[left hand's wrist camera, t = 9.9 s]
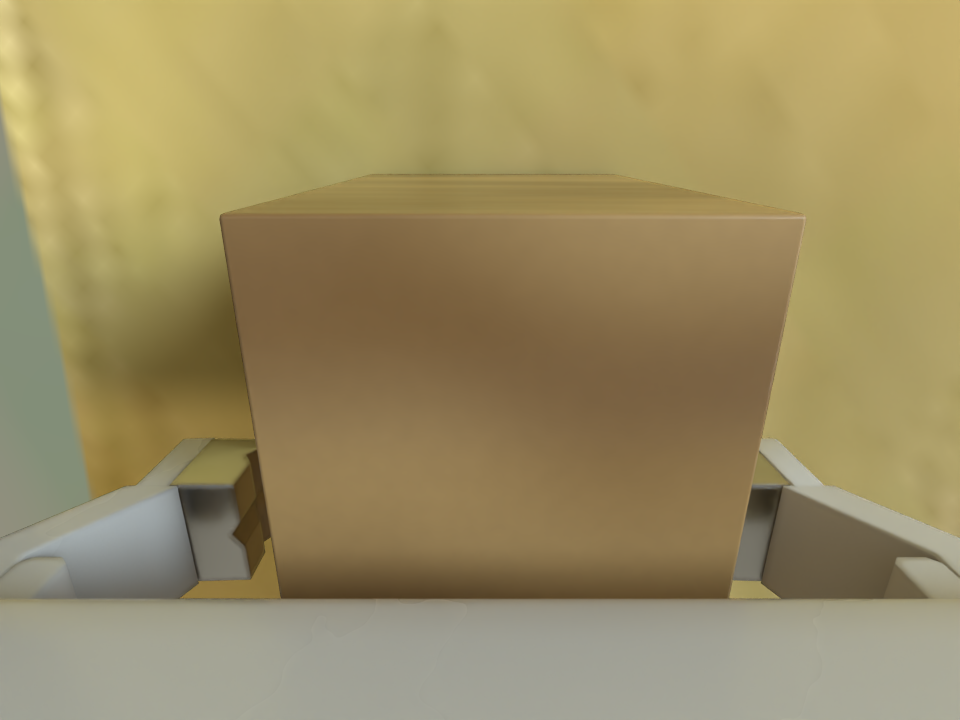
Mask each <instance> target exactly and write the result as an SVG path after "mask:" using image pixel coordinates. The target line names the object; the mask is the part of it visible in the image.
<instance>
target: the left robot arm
mask: <svg viewBox="0 0 960 720" xmlns="http://www.w3.org/2000/svg"><path fill="white" fill-rule="evenodd" d="M270 537H271V534H270V527H269V521H268V515H267V509H266V503H265V497H264V490H263V484H262V478H261V472H260V466H259V460H258V453H257V447H256V441H255V439H222V438H218V439H215V438H190V439H183V440H182V441H181V442H180V443H179V444H178V445H177V446H176V447H175V448H174V449H173V450H172V451H171V452H170V453H169V454H168V455H167V456H166V457H165V458H164V459H163V460H162V461H161V462H160V463H159V464H158V465H156V466H155V467H154V468H153V469H152V470H151V471H150V472H149V473H148V474H147V475H146V476H145V477H144V478H143V479H142V480H141V481H140V482H139V483H138V484H137V485H136V486H125V487H122V488H120V489H117V490H115V491H112V492H110V493H108V494H105V495H103V496H100V497H98V498H96V499H93V500H91V501H88V502H86V503H83V504H81V505H79V506H76V507H74V508H71V509H69V510H67V511H64V512H62V513H59V514H57V515H54V516H52V517H50V518H47V519H45V520H42V521H40V522H38V523H35V524H33V525H30V526H28V527H25V528H23V529H21V530H18V531H16V532H13V533H11V534H8V535H6V536H4V537H1V538H0V720H960V538H958V537H956V536H953V535H951V534H949V533H946V532H944V531H941V530H939V529H937V528H934V527H932V526H929V525H927V524H925V523H922V522H920V521H917V520H915V519H913V518H910V517H908V516H905V515H903V514H900V513H898V512H896V511H893V510H891V509H888V508H886V507H884V506H881V505H879V504H876V503H874V502H872V501H869V500H867V499H864V498H862V497H860V496H857V495H855V494H852V493H850V492H847V491H845V490H843V489H840V488H838V487H835V486H824V485H823V484H822V483H821V482H820V481H819V480H818V479H817V478H816V477H815V476H814V475H813V474H812V473H811V472H810V471H809V470H808V469H807V468H806V467H805V466H804V465H803V464H801V463H800V462H799V461H798V460H797V459H796V458H795V457H794V456H793V455H792V454H791V453H790V452H789V451H788V450H787V449H786V448H785V447H784V446H783V445H782V444H781V443H780V442H779V441H778V440H776V439H773V438H761V443H760V448H759V453H758V458H757V463H756V468H755V473H754V478H753V482H752V487H751V492H750V497H749V502H748V507H747V512H746V517H745V522H744V527H743V531H742V536H741V541H740V546H739V551H738V556H737V561H736V566H735V571H734V575H733V580H745V581H761V583H762V584H763V585H764V586H765V587H767V588H768V589H769V590H771V591H772V592H773V593H775V594H776V595H777V596H779V597H780V598H781V599H179V598H180V597H182V596H183V595H184V594H186V593H187V592H188V591H189V590H191V589H192V588H193V587H195V586H196V585H197V584H198V583H199V582H198V581H214V580H250V579H251V578H252V576H253V574H254V572H255V570H256V568H257V567H258V565H259V563H260V561H261V559H262V557H263V555H264V554H265V546H264V541H265V540H267V539H269V538H270Z"/></svg>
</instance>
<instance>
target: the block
mask: <svg viewBox="0 0 960 720" xmlns="http://www.w3.org/2000/svg"><path fill="white" fill-rule="evenodd" d="M805 223H806V216H805V215H804V214H802V213H797V212H792V211H787V210H783V209H778V208H773V207H768V206H763V205H759V204H754V203H749V202H744V201H739V200H735V199H730V198H725V197H720V196H715V195H711V194H706V193H701V192H696V191H691V190H687V189H682V188H677V187H672V186H667V185H663V184H658V183H653V182H648V181H643V180H639V179H634V178H629V177H624V176H619V175H615V174H371V175H367V176H364V177H360V178H356V179H352V180H348V181H345V182H341V183H337V184H333V185H329V186H326V187H322V188H318V189H314V190H310V191H307V192H303V193H299V194H295V195H291V196H288V197H284V198H280V199H276V200H272V201H269V202H265V203H261V204H257V205H253V206H250V207H246V208H242V209H238V210H234V211H231V212H227V213H224V214H221V215H220V225H221V231H222V237H223V243H224V250H225V256H226V262H227V268H228V274H229V280H230V287H231V293H232V299H233V305H234V311H235V318H236V324H237V330H238V336H239V342H240V348H241V355H242V361H243V367H244V373H245V379H246V385H247V392H248V398H249V404H250V410H251V416H252V423H253V429H254V435H255V441H256V447H257V453H258V460H259V466H260V472H261V478H262V484H263V490H264V497H265V503H266V509H267V515H268V521H269V527H270V534H271V540H272V546H273V552H274V558H275V565H276V571H277V577H278V583H279V589H280V595H281V599H729V595H730V590H731V585H732V580H733V575H734V571H735V566H736V561H737V556H738V551H739V546H740V541H741V536H742V531H743V527H744V522H745V517H746V512H747V507H748V502H749V497H750V492H751V487H752V482H753V478H754V473H755V468H756V463H757V458H758V453H759V448H760V443H761V438H762V434H763V429H764V424H765V419H766V414H767V409H768V404H769V399H770V394H771V390H772V385H773V380H774V375H775V370H776V365H777V360H778V355H779V350H780V345H781V341H782V336H783V331H784V326H785V321H786V316H787V311H788V306H789V301H790V297H791V292H792V287H793V282H794V277H795V272H796V267H797V262H798V257H799V253H800V248H801V243H802V238H803V233H804V228H805Z"/></svg>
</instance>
